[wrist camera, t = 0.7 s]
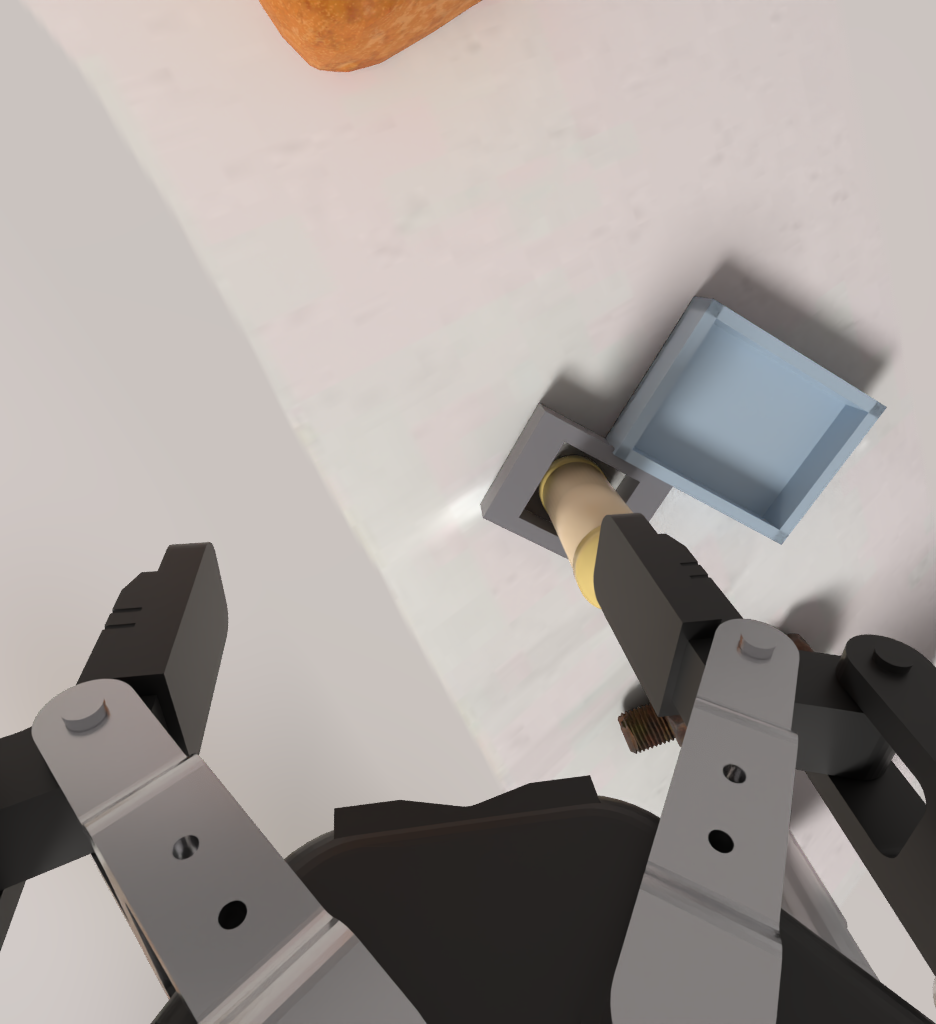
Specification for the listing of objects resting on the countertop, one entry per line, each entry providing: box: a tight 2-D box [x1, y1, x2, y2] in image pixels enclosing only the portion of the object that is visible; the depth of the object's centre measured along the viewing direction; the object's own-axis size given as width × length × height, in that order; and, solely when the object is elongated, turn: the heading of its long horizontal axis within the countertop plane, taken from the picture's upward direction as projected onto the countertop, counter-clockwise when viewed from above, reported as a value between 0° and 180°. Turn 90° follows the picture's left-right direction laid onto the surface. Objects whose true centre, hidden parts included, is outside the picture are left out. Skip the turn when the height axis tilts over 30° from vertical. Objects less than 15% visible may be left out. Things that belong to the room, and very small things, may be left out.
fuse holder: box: [480, 403, 673, 559], centre depth 43 cm, size 10×8×2 cm
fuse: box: [538, 455, 633, 609], centre depth 38 cm, size 5×5×13 cm
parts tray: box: [605, 296, 887, 545], centre depth 41 cm, size 14×11×3 cm
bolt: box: [618, 634, 814, 754], centre depth 49 cm, size 6×5×15 cm
